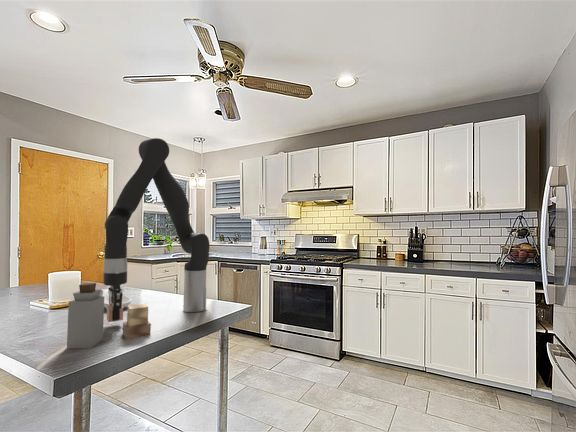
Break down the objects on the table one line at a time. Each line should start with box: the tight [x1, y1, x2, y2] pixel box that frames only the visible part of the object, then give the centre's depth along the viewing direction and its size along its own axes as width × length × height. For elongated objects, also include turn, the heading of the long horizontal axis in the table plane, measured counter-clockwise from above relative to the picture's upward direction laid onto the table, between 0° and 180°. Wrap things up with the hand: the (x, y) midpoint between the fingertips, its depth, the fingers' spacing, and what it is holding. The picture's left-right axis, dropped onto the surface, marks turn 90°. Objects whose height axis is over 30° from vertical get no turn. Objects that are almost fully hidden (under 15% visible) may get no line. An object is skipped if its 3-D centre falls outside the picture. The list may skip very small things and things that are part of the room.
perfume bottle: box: [66, 282, 105, 349], centre depth 94 cm, size 7×7×18 cm
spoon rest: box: [99, 288, 133, 310], centre depth 139 cm, size 24×12×7 cm, turn 53°
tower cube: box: [126, 303, 149, 326], centre depth 103 cm, size 6×6×6 cm
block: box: [106, 305, 124, 323], centre depth 111 cm, size 4×4×4 cm
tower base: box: [122, 321, 152, 340], centre depth 103 cm, size 7×7×4 cm
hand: (114, 318), depth 111 cm, fingers closed on block, 4 cm apart
